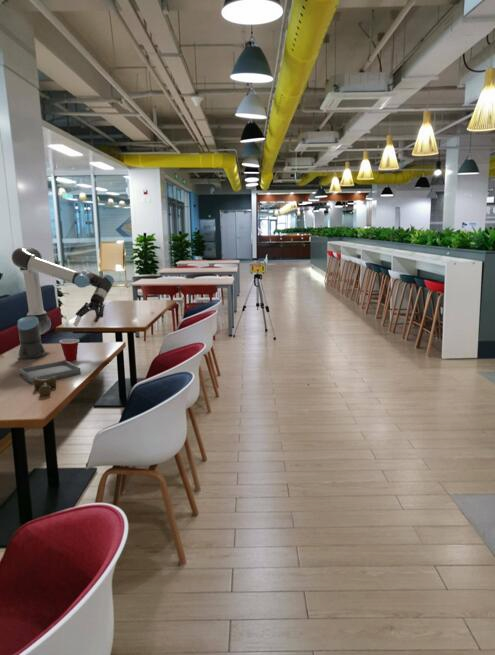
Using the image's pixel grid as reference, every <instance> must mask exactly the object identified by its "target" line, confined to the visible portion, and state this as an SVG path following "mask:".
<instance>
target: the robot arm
mask: <svg viewBox="0 0 495 655" xmlns="http://www.w3.org/2000/svg"><path fill="white" fill-rule="evenodd" d="M11 261H12V263H13V264H14V265H15V266H16V267H18V268H19V271H20V272H21V273H22V274H23V279H24V280H23V281H24V287H25V293H26V301H27V307H28V312H27V314H26V316H25V317H21V318H20V319H18V320H17V330H18V338H19V350H18V358H19V359H20V360H31V359H37V358H41V357H44V356H46V349H45V347H44V346H43V343H42V338H41V335H43V334H46V333H47V332H48V331H49V330H50V329H51V326H52V322H51V319H50V317H49V316H48V314H47V311H46V310H45V309H44V303H43V302H44V301H43V296H42V295H43V294H42V289H41V283H40V280H41V279H40V276H39V274H40V273H42V274H44V275H46V276H50V277H53V278H55V279H59V280H61V281H65V282H68V283H71V284H73V285H75V286H76V287H77V288H87V287H88V286H92V287H94V288H95V290H94V291H93V294H92V296H91V297H90V302H89V303H88V302H87V301H86V302H85V303H84V305H83V306H82V307H80V309H78V310H77V311H76V313H75V316H76V318H75V319H74V322H73V323H72V325H73V327H75V328H77V327H78V325H79V324H80V322H81V320H82V317H84V316H85V315H86V314H87V313H89V312H91V311H94V312H95V315H94V317H93V319H92V320H91V323H90V325H89V326H90V327H91V328H93V329H94V328H95V326H96V324H97V323H98V321H99V320H100V319H101V318H103V317H104V309H105V307H106V306H105V304H104V302H105V300H106V298H107V296H108V295H109V292H110V290H111V289H112V287H113V284H114V283H115V279H114V278H115V277H113V276H112V275H110V274H106V273H105V274H103V275H99V274H95V273H94V272H92V271H91V272H90V271H88V270H85V269H84V270H82V271H81V272H80V271H76V270H73V269H71V268H68V267H65V266H63V265H59V264H57V263H53V262H51V261H49V260H48V261H47V260H45V259H43V256H42V253H41V252H40V250H39V249H37V248H36V247H35V248H34V247H31V246H28V247H18V248H16V249H14V250H13V251H12V254H11Z"/></svg>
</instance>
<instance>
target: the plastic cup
mask: <svg viewBox="0 0 495 655" xmlns="http://www.w3.org/2000/svg"><path fill="white" fill-rule="evenodd" d="M79 342H80V339H79V338H78V339H77V338H65V339H60V340H59V343H60V346H61V349H62V352H63V356H64V360H66V361H68V362H70V363H72V362H75V361H77V359H78V346H79Z"/></svg>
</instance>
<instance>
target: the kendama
mask: <svg viewBox="0 0 495 655" xmlns="http://www.w3.org/2000/svg"><path fill="white" fill-rule="evenodd" d="M33 386H34V391H38V394H39V396H41V397H43V398H44V397H49V396H50V394H52V390H51V388H57V379H56V377H55V376H53V377H51V378H49V379H44V380H42V379H38V378H34V384H33Z"/></svg>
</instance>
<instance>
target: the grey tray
mask: <svg viewBox="0 0 495 655" xmlns="http://www.w3.org/2000/svg"><path fill="white" fill-rule="evenodd" d="M81 374H82V371H81V367H80V366H79V367H78V366H77V365H76V364H73V363H72V362H68V361H66V359H63V360H59V361H54V362H47V363H43V364H37V365H32V366H27V367H21V368H19V375H20V376H22V377H23V378H24V379H26V380H27V381H28V382H29V383H30V384H31V385H34V378H38V379H42V380H44V379H49V378H51V377H53V376H55V377H56V380H58V379H63V378H64V379H65V378H67V377H73V376H77V375H81Z"/></svg>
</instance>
